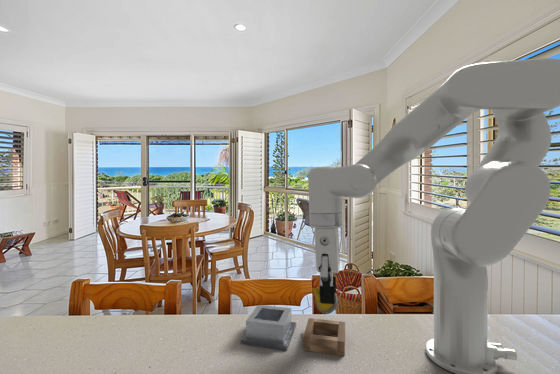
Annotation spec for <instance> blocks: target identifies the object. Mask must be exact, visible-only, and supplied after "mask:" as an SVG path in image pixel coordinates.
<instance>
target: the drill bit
mask: <svg viewBox="0 0 560 374" xmlns="http://www.w3.org/2000/svg"><path fill="white" fill-rule="evenodd" d="M311 290H312V292H313V296H314V298H315V306H316V309H317V310H318V311H319V312H320V313H322V314H323V315H329V314H332V313H333V312H335V310H336V309H337V307H338V305H339V302H340V301H339V298H338V296H337V294H336V293H335V303H334V304H323V303H320V288H316V287H312V288H311Z"/></svg>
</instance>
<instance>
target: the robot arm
mask: <svg viewBox="0 0 560 374" xmlns="http://www.w3.org/2000/svg"><path fill="white" fill-rule="evenodd" d="M559 107H560V59H559V58H554V57H553V58H551V57H550V58H549V57H546V58H545V57H544V58H531V59H528V58H527V59H519V60H518V59H516V60H504V61H503V60H502V61H501V60H500V61H489V62H479V63H474V64H469V65H465V66H463V67H461V68H459V69H456V70H455V71H454V72H453V73H452V74H451V75H450V76H449V77H448V78H447V79H446V81H445V82H443V84H441V85H440V86H439V87H438V88H437V89H435V91H434V92H432V93H431V94H430V95H429V96H427V98H425V99H423V101H422V102H421V103H420V104H419V105H417V106H415V108H414V109H412V110H411V111H410V112H409V113H408V114H406V115H405V116H404V117H403V118H401V120H399V121H398V122H397V123H396V124H395V125H393V126H392V128H390V130H388V132H387V133H386V135H384V137H383V138H382V139H381V140H380V141H379V142H378V143H377V144H376V145H375V146H374V147H373V148H372V149H371V150H370V151H369V152H368V153H366V154H365V155H364V156H363V157H362V158H360V159H359V160H358V161H357V162H356V163H355V164H349V165H345V166H337V167H335V166H319V167H313V168H310V169H309V171H308V173H307V178H308V179H307V185H308V187H307V189H308V212H309V214H308V217H309V228H311V229H314V249H315V251H314V252H315V253H314V254H315V255H314V256H315V267H316V271H317V272H318V273H319V289H320V303H323V304H334V303H335V294H336V293H337V277H336V274H338V273H339V272H340V268H341V256H340V253H341V252H340V236H339V234H340V233H339V228H342V227H343V206H342V205H343V203H342V202H343V201H342V197H343V198H351V199H352V198H353V199H364V198H366V197H368V196H370V195H372V194H373V192H374V191H375V189H376V188H377V186H378V185H379V184H380V183H381V182H382V181H384V180H385V179H386V178H387V177H388V176H390V175H391V174H393V173H394V172H396V171H397V170H398V169H399V168H401V167H403V166H404V165H407V164H408V163H409V162H412V161H413V160H415V159H417V158H418V157H420V156H421V155H423V154H424V153H425V152H427V151H428V150H429V149H430V148H432V147H433V146H434V145H435V144H437V143H438V142H439V141H440V140H442V139H443V138H444V137H445V136H446V135H447V134H449V133H450V132H451V131H453V130H454V129H456V127H458V126H459V125H460V124H461V123H462V122H464V121H465V120H466V119H468V118H469V117H470V116H472V115H473V114H474V113H476V112H478V111H480V110H491V113H492V115H493V118H494V119H495V121H496V124H497V126H498V127H497V128H498V133H497V136H496V138H495V140H494V142H493V143H492V144H491V145H492V146H491V147H490V148H489V149H488V152H487V153H486V154H485V155H484V157H483V158H482V160H481V161H480V163H479V164H478V165H477V166H476V168H475V169H474V171H473V172H472V173H471V175H469V177H468V178H467V180H466V183H465V185H464V195H465V198H466V199H467V200H468V201H469V202H470V203H469V204H468V206H467V208H460V207H459V208H458V207H454V208H448V209H445V210H443V211H442V212H440V213H438V215H437V216H436V217H435V218H434V220H433V221H432V224H431V229H430V232H431V233H430V236H431V247H432V255H433V258H432V259H433V338H431V339H429V340H428V341H427V342H426V344H425V353H426V354H427V356H428V358H429V359H430V360H431V361H432V362H433V363H435V364H436V365H438V366H439V367H441V368H442V369H444V370H446V371H448V372H451V373H454V374H497V373H498V363H497V361H498V360H499V359H504V360H509V361H510V360H511V361H517V360H518V356H517V352H516V350H515V349H513V348H506V347H504V348H503V345H502V344H501V343H500V342H491V341H490V342H489V340H488V335H489V333H488V329H489V328H488V326H489V322H488V317H489V315H488V314H489V313H488V310H489V309H488V308H489V307H488V306H489V305H488V301H489V300H488V299H489V297H488V293H489V278H488V268H487V267H489V266H493V265H496V264H498V263H500V262H501V261H503V260H504V259H505V258H506V257H508V255H509V254H510V253H511V252H512V251H513V250H514V249H515V247H516V246H517V245H518V244H519V242H520V241H521V240H522V239H523V237H524V236H525V235H526V233H527V232H528V231H529V230H530V228H531V227H532V226H533V225H534V223H535V222H536V220H537V219H538V217H540V215H541V214H542V212H543V211H544V209H545V208H546V206H547V205H548V202H549V200H550V196H551V190H552V189H551V187H552V186H551V182H550V179H549V177H548V175H547V173H546V172H545V171H544V170H543V169H541V167H539V166H540V165H541V164H542V161H543V160H544V159H545V157H546V156H547V154H548V152H549V150H550V147H551V143H552V131H551V129H550V125H549V122H548V119H547V117H546V115H545V112H548V111H551V110H554V109H556V108H559Z"/></svg>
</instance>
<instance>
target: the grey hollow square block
mask: <svg viewBox="0 0 560 374" xmlns="http://www.w3.org/2000/svg"><path fill="white" fill-rule="evenodd" d="M296 327H297V322H295V321H292V308H291V307H283V306H282V307H281V306H274V305H273V306H270V305H263V304H258V305H257V306H256V307H255V309H253V310H252V312H251V314H250V315H249V316H248V318H247V319H246V320H245V332H244V334H243V335H242V336H241V338H240V340H239V342H240V344H241V345H244V346H245V345H246V346H252V347H260V348H267V349H273V350H274V349H275V350H281V351H288V348H289V346H290V343H291V341H292V337H293V335H294V333H295V330H296Z"/></svg>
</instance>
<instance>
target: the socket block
mask: <svg viewBox="0 0 560 374" xmlns="http://www.w3.org/2000/svg"><path fill="white" fill-rule="evenodd" d="M302 350H303V351H305V352H306V351H307V352H313V353H314V352H315V353H321V354H329V355H335V356H342V357H345V354H346V352H345V351H346V321H342V320H341V321H338V320H332V319H331V320H330V319H329V320H328V319H322V318H321V319H320V318H311V317H309V318H308V320H307V323H306V326H305V330H304V332H303V337H302Z"/></svg>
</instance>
